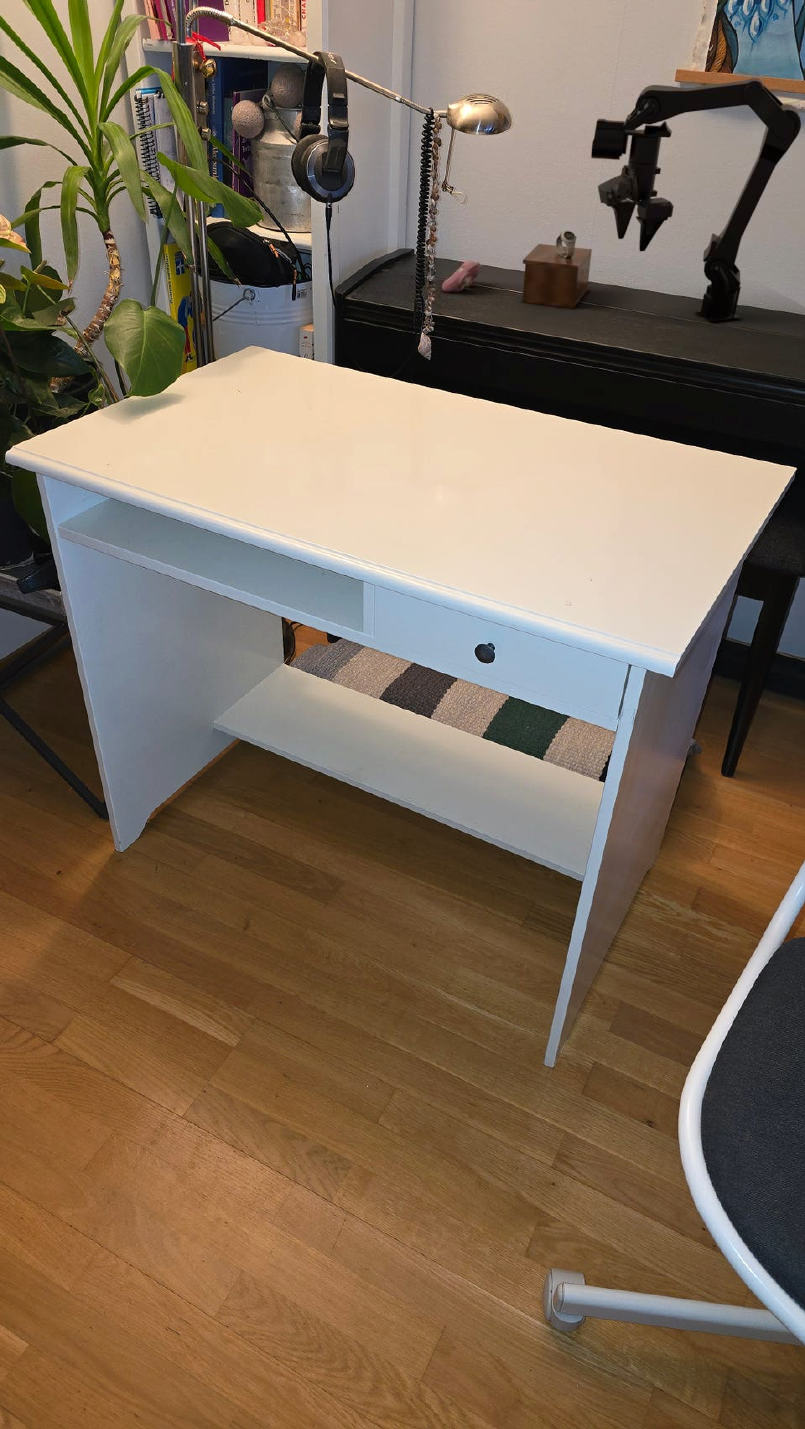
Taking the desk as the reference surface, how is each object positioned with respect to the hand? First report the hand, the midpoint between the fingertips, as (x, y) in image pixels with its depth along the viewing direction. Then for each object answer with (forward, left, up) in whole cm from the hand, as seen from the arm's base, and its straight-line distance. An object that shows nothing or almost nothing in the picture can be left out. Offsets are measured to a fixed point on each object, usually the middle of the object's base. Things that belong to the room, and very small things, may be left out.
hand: (631, 245), depth 206 cm
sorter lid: (+11, -12, -5) cm, 17 cm away
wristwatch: (+9, -11, -4) cm, 15 cm away
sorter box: (+10, -12, -13) cm, 21 cm away
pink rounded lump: (+28, -24, -13) cm, 39 cm away
